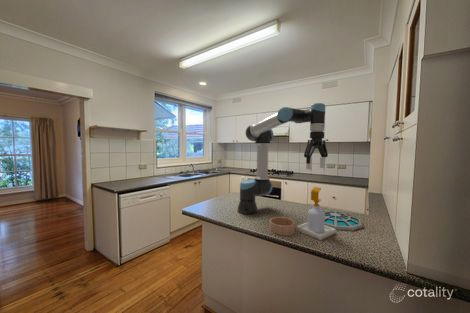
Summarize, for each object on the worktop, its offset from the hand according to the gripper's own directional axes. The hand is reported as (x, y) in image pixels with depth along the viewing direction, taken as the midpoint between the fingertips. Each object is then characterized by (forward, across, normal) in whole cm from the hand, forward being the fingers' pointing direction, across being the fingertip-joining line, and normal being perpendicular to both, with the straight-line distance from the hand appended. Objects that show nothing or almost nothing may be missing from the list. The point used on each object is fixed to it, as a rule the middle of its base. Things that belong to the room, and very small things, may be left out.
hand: (315, 168), depth 109 cm
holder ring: (+36, -14, +12) cm, 41 cm away
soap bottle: (+36, 0, -1) cm, 36 cm away
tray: (+36, 0, -1) cm, 36 cm away
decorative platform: (+37, +26, +1) cm, 45 cm away
